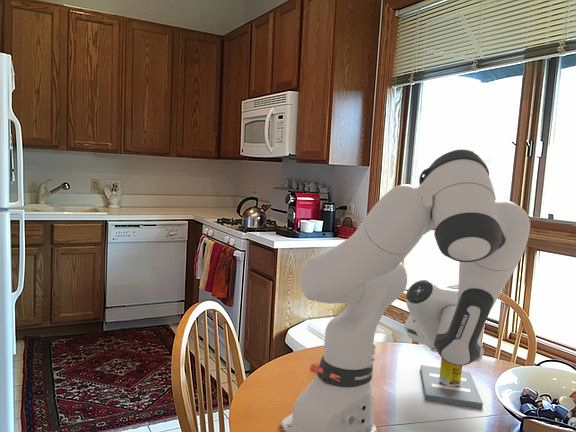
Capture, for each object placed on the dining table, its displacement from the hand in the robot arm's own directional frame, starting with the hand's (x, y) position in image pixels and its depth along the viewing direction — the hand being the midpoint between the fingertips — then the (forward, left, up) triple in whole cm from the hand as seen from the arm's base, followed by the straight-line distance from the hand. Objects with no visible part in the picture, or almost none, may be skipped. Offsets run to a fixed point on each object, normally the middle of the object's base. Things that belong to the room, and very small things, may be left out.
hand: (451, 354), depth 133 cm
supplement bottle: (0, -1, -8) cm, 8 cm away
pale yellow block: (-2, +28, -10) cm, 29 cm away
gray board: (0, 0, -9) cm, 9 cm away
